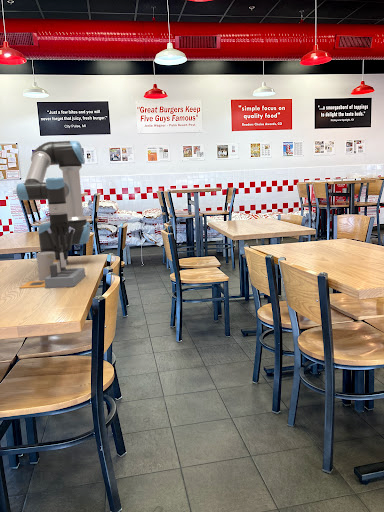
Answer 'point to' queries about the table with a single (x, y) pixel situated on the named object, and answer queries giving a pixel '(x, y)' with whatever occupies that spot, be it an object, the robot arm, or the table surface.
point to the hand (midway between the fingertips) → (63, 266)
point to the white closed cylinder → (44, 263)
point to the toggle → (57, 265)
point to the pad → (34, 284)
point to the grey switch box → (64, 277)
